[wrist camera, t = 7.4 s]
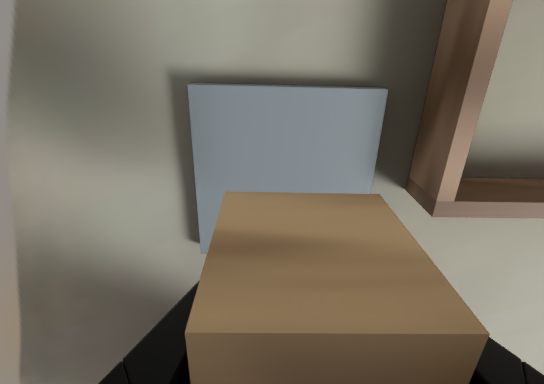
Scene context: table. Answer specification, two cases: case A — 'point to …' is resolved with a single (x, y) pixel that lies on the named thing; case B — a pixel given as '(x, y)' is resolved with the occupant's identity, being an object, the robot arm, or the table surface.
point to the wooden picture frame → (465, 121)
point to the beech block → (324, 298)
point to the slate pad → (281, 141)
